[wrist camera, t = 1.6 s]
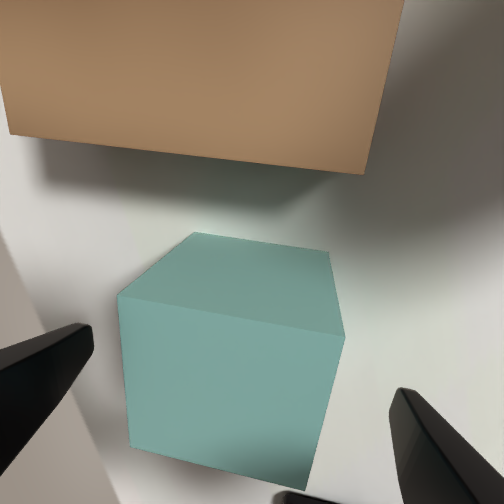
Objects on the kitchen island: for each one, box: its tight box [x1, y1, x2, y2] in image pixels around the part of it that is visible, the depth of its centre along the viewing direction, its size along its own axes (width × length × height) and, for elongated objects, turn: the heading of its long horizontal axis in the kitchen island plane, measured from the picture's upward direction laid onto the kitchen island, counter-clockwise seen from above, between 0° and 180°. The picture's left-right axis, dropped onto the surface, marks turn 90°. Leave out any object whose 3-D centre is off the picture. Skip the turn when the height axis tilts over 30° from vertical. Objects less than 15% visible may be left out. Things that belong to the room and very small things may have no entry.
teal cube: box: [117, 232, 345, 491], centre depth 9 cm, size 5×5×5 cm
